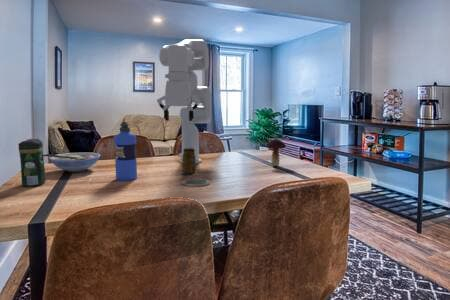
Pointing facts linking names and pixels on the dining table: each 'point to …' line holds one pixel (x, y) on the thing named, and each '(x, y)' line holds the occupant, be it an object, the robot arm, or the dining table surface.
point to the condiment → (189, 162)
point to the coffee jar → (32, 162)
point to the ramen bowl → (74, 161)
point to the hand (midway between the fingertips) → (178, 120)
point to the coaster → (195, 182)
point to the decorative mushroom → (275, 150)
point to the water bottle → (125, 154)
